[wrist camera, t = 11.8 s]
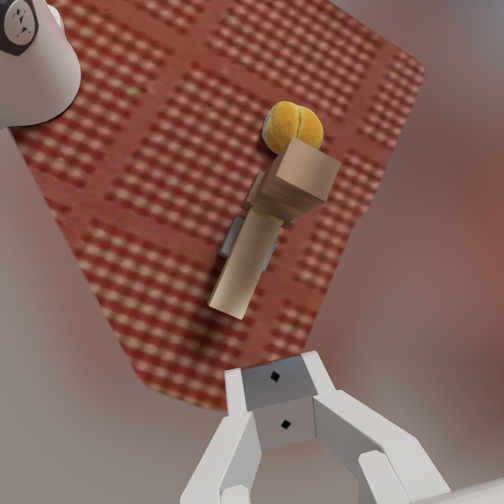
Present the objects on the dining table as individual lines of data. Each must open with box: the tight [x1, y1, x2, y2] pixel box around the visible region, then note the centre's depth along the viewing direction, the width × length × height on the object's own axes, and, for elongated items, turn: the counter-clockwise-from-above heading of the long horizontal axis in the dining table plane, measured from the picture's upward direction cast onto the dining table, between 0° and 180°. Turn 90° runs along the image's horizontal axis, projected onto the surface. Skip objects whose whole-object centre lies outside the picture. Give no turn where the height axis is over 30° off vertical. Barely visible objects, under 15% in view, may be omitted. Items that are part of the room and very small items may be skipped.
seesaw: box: [207, 205, 284, 320], centre depth 38 cm, size 6×18×9 cm, turn 156°
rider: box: [241, 137, 341, 229], centre depth 33 cm, size 6×4×13 cm, turn 66°
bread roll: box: [262, 102, 323, 155], centre depth 44 cm, size 8×9×4 cm
